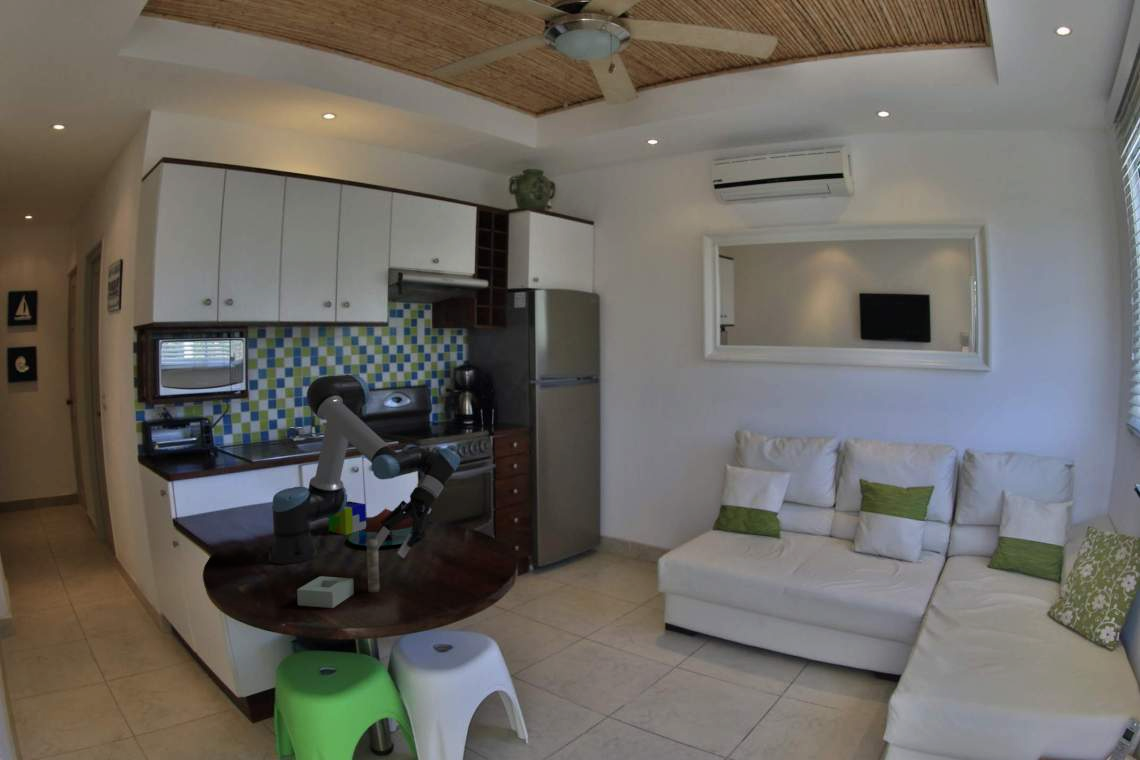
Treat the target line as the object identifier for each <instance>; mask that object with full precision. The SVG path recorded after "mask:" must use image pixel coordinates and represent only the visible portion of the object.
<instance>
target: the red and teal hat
mask: <svg viewBox="0 0 1140 760" xmlns="http://www.w3.org/2000/svg"><path fill="white" fill-rule="evenodd" d="M392 511H393V510H390V509H389V508H384V509H383V510H381V511H380V513H377V514H376V515H375V516H372V517H370V518H369V520H368V522H367V523H366V528H365V529H364V530H360V531H357V532H354V533H351V534H349V535H348V541H349V543H352V544H354V545H359V546H366V547H367V540H370V539H375V538H376V536H377V534H378V533H379V531H380V530H381V528H382V524H381V523H380V522H381V521H382V520H383V519H384V518H385V517H386V516H387V515H388V514H390V513H391V512H392ZM412 523H413V519H409V518H408V519H405V520H403V521H402V522H400V523H399V524H397V525H396V526H394V527H393V528H391V529H390V533H389V534H388V535H387V537H386V538H385V540H384V541H383V543H382V544H381V546H380V547H383V546H393V545H400V544H401V545H402V544H403V543H404V541H405V540H406V538H407V537H408V535H409V534H411V533H410V532H412ZM421 532H422V531H421ZM411 535H412V534H411ZM419 539H422V538H421V537H420V538H419Z"/></svg>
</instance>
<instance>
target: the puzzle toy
mask: <svg viewBox="0 0 1140 760" xmlns="http://www.w3.org/2000/svg"><path fill="white" fill-rule="evenodd" d="M366 505H367V504H366V503H361V502H355V501H349V500H347V503H346V506H345V508H344V509H343V510H342V511H341V512H340V513H338V514H336V515H334V516H332V517H328V532H330V531H332V532H331V533H335V532H336V533H335V534H341V535H345V536H347V535H351V534H353V532H354V533H355V532H356V531H359V530H362V529H365V528H366V526H367V511H366V509H367V508H366V507H367V506H366Z"/></svg>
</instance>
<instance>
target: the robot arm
mask: <svg viewBox="0 0 1140 760" xmlns="http://www.w3.org/2000/svg"><path fill="white" fill-rule="evenodd" d="M369 388H370V387H369V386H368V385H367V381H366V380H365V379H364V378H362V377H361V376H359V375H357V374H356V375H355V374H342V375H330V376H329V375H326V376H325V375H324V376H320V377H318V378H316V379H315V380H313V381H312V382H311V383H310V385H309V386H308V388H307V391H306V402H307V404H308V405H307V406H308V407H309V409H310V410H311V412H313V413H314V415H315V416H316V417H317V418H319V419H320V420H322V421H323V420H324V421H326V422H325V427H324V432H323V438H322V442H321V447H320V448H321V449H320V452H319V458H318V462H317V467H316V471H315V472H316V473H315V475H314V476H312V477H311V478H310V479H309V485H308V487H306V486H294V487H289V488H288V487H287V488H285V489H283V490H280V491H278V492H276V493H275V494H273V497H272V505H271V507H272V508H271V510H272V517H273V519H272V520H273V522H272V523H273V524H272V525H273V539H272V543H271V546H270V550H269V552H268V553H269V554H268V560H269V562H270V563H273V564H278V565H285V564H286V565H287V564H296V563H300V562H302V563H303V562H306V561H308V560H311V559H313V558H315V557H316V556H317V548H316V547H317V546H316V545H315V543H314V540H313V537H312V534H311V523H314V522H316V521H320V520H323V519H326V518H328V519H329V517H332V516H334V515H336V514H338V513H340V512H341V511H342V510H343V509H344V508H345V506H346V503H347V502H348V494H347V493H346V492H347V490H346V488H345V487H344V483H343V481H342V480H341V477H342V473H343V468H344V464H345V459H346V453H347V449H348V445H349V443H350V444H351V445H352V446H353V447H354V448H355V449H356V450H357V451H358V452H359V453H360V454H362V455H363V457H364V458H366V459H367V460H368V461H369V462H370V464H371V466H370V467H371V471H372V473H373V476H374V477H376V478H377V479H379V480H390V479H395V478H397V477H400V476H404V475H408V474H412V473H416V472H419V473H422V474H423V475H422V477H421V479H420V480H419V481H418V482H417V484H416V487H415V488H414V489H413V490H412V492H411V493H410V494H409V498H410V500H409V502H406V501H405V500H401V502H400V503H399V504H398V505H397V506H396V507H395V508H394V509H393V510H391V511H392V512H391V513H390V514H388V515H387V516H386V517H385V518H384V519H383V520H382V521H381V522H380V523H381V524H382V528H381V530H380V531H379V533H378V534H377V536H376V538H375V539H377V540H378V550H380V547H382V546H381V544H382V543H383V541H384V540H385V538H386V537H387V535H388V534H389V533H390V529H391V528H393V527H394V526H396V525H397V524H399V523H400V522H402V521H403V520H405V519H408V518H409V519H413V523H412V532H410V533H411V534H412V535H411V534H409V535H408V537H407V538H406V540H405V541H404V543H402V544H401V545H400V547H399V549H398V550H397V552H396V554H398V556H400V557H401V558H403V559H405V557H406V555H407V554H408V553H409V551H410V549H412V547H413V546H414V545H415V544H416V541H417V540H418V539H424V538H425V536H426V535H427V530H428V525H429V523H430V519H431V516H432V515H433V512H434V510H433V509H432V506H433V505H434V503H435V502H436V499H437V498H438V497H439V496H440V494H441V492H442V491H443V489H444V488H445V486H446V484H447V483H448V482H449V480H450V479H451V477H452V476H453V474H454V473H455V472H456V470H457V468H458V466H459V465H460V463H461V457H459V454H457V452H455V451H453V450H452V449H450V448H447V447H442V448H441V449H440V451H438V452H435V451H431V450H429V449H426V448H423V447H421V446H419V445H414V444H407V445H405V447H403V448H402V449H401V450H400V451H395V450H394V449H393V448H392V447H391V446H390V445H389V444H388V443H387V442H386V441H384V439H382V438H381V437H380V436H379V435H378V434H377V433H376V432H375V431H374V430H372V429H371V428H370V427H369V426H368V425H367V424H366V422H364V421H363V420H362V419H361V418H360V417H358V416H359V414H360V411H361V410H360V409H361V408H363V407H364V406H366V405H367V404H368V402H369V400H370V396H371V395H370V389H369ZM421 531H422V532H421ZM420 537H421V538H420Z"/></svg>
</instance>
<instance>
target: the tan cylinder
mask: <svg viewBox="0 0 1140 760" xmlns="http://www.w3.org/2000/svg"><path fill="white" fill-rule="evenodd" d="M366 560H367V561H366V562H367V563H366V566H367V587H368V589H367V592H368V593H376V592H377V593H378V592H379V591H380V566H379V549H378V540H377V539H370V540H367V546H366Z"/></svg>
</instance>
